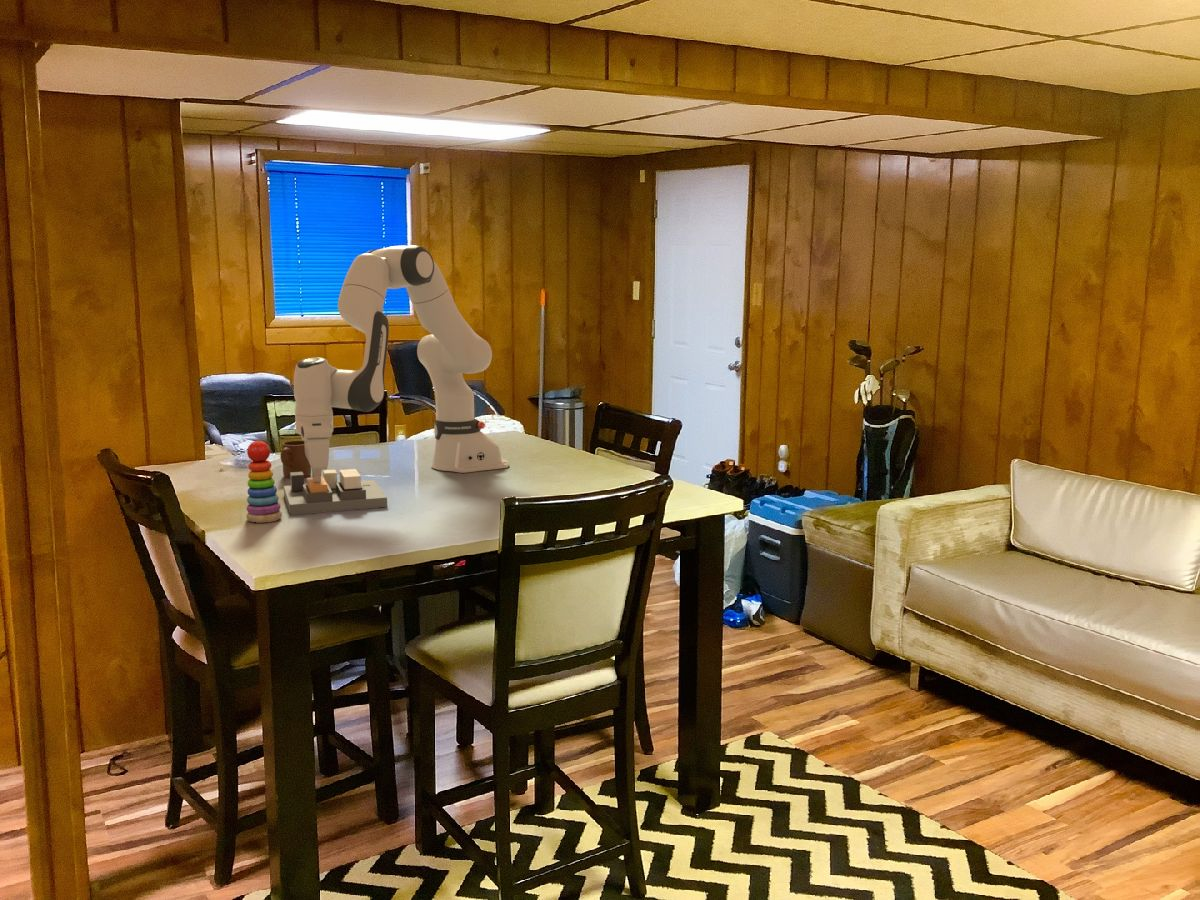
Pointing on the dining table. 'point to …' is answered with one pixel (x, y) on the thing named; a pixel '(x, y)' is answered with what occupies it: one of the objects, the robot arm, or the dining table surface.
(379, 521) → the dining table surface
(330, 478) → the slider
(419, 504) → the dining table surface
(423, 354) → the robot arm
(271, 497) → the stacking toy
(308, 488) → the button
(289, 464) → the mug
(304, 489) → the grey base platform
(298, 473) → the slider
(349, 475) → the button
